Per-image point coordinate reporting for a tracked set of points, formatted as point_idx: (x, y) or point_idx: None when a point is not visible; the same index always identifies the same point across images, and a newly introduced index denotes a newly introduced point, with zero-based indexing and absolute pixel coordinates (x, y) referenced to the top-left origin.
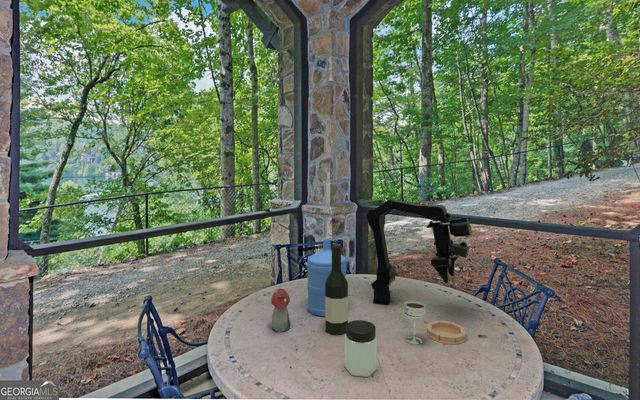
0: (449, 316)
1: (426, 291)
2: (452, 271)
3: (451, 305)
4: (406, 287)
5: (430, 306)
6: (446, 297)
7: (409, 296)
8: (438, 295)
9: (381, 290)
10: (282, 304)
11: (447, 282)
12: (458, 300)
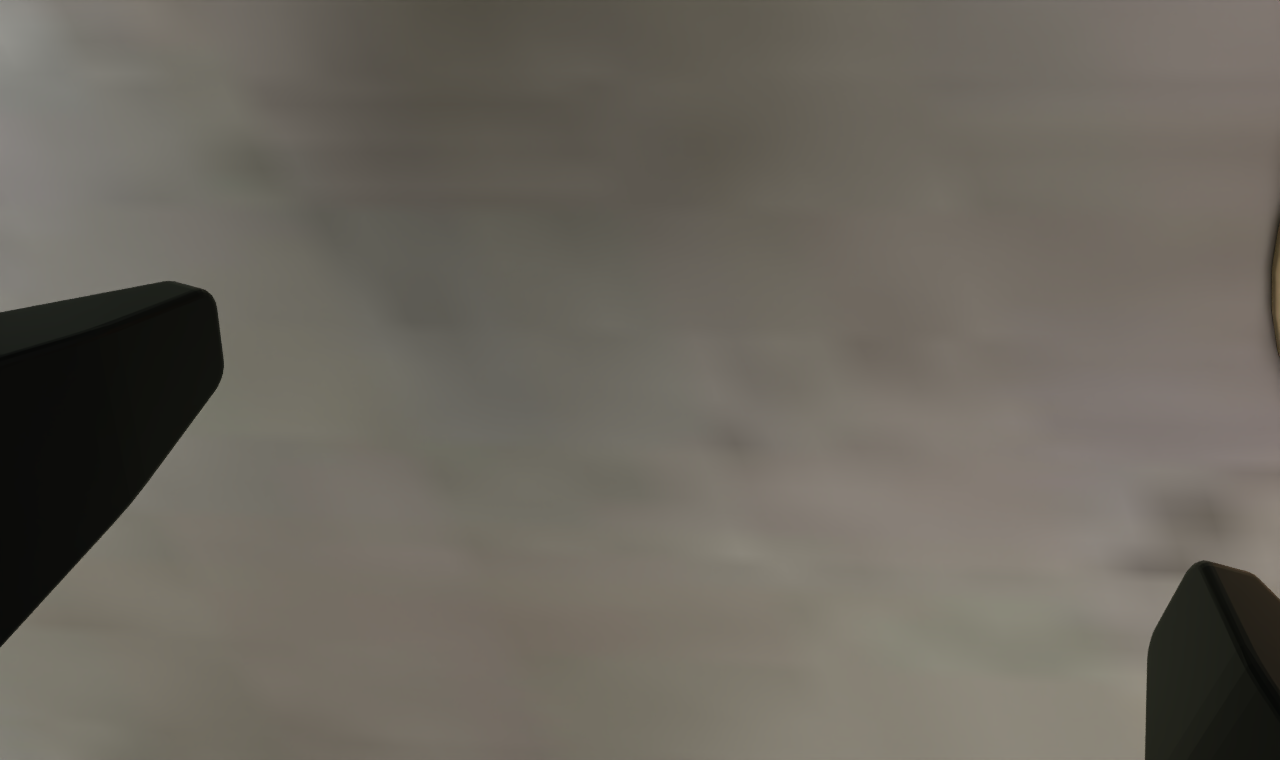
0: (816, 183)
1: None
2: (63, 393)
3: (342, 149)
4: (18, 732)
5: (522, 462)
6: (70, 225)
7: (294, 715)
8: None
9: None
10: None
11: (1245, 598)
12: (89, 37)
